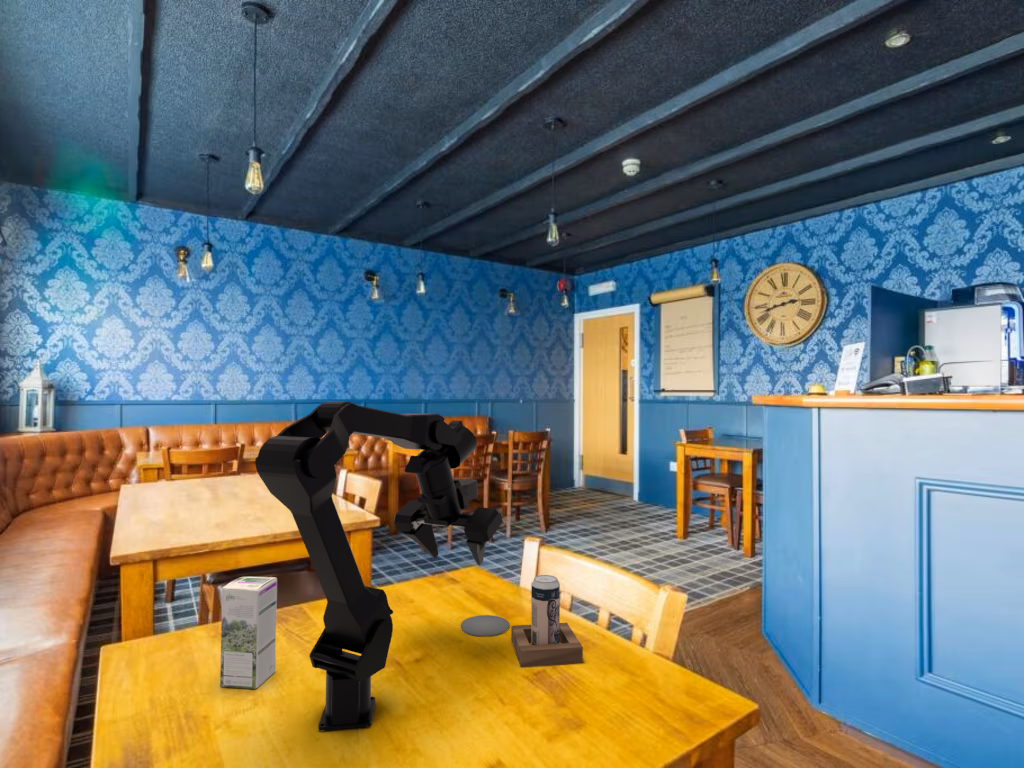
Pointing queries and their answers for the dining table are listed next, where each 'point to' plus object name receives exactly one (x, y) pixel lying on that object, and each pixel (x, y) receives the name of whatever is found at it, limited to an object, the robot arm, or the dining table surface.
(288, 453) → the robot arm
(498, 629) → the coaster
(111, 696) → the dining table surface
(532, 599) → the beer can
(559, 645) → the socket block
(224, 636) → the syrup box
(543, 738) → the dining table surface
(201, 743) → the dining table surface
